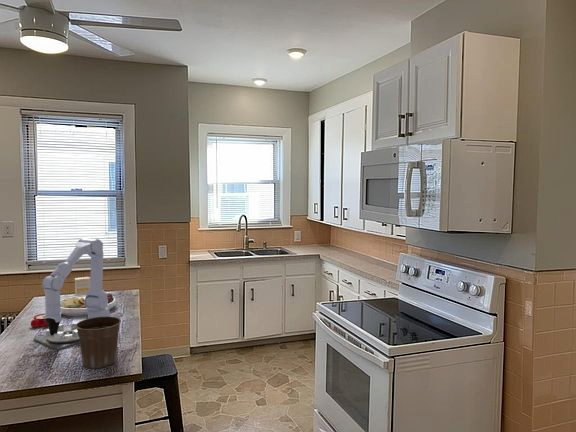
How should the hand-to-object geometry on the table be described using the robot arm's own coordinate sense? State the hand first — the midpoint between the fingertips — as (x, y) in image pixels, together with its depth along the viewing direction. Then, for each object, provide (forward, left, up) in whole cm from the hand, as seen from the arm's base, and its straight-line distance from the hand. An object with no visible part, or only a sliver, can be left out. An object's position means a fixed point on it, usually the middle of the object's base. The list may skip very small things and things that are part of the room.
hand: (53, 334), depth 190 cm
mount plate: (-7, -1, -4) cm, 8 cm away
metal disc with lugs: (-7, -1, -3) cm, 8 cm away
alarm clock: (-11, -30, -5) cm, 32 cm away
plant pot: (0, +34, -4) cm, 34 cm away
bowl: (-38, -38, -5) cm, 54 cm away
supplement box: (-49, -60, -4) cm, 77 cm away
